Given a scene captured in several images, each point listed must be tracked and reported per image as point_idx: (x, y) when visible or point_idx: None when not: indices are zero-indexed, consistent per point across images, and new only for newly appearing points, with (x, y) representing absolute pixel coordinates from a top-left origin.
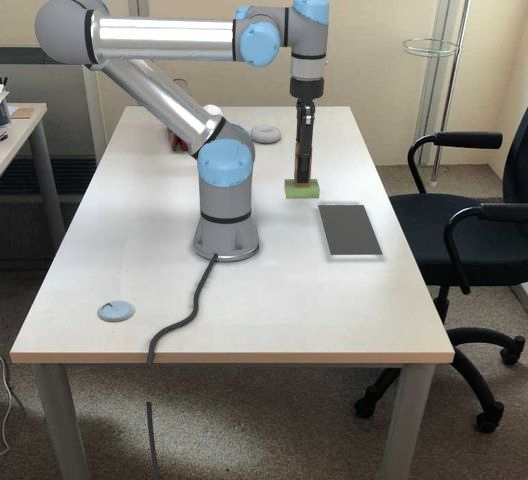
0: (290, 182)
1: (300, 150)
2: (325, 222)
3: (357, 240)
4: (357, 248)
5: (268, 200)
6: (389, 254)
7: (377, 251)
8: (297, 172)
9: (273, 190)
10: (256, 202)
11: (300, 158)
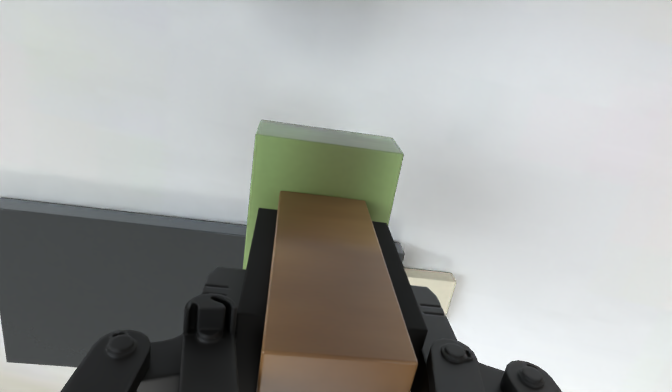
0: (347, 177)
1: (118, 377)
2: None
3: (106, 315)
4: (44, 302)
5: (539, 76)
6: (60, 373)
7: (27, 352)
8: (258, 239)
9: (621, 118)
10: (538, 16)
11: (236, 317)
